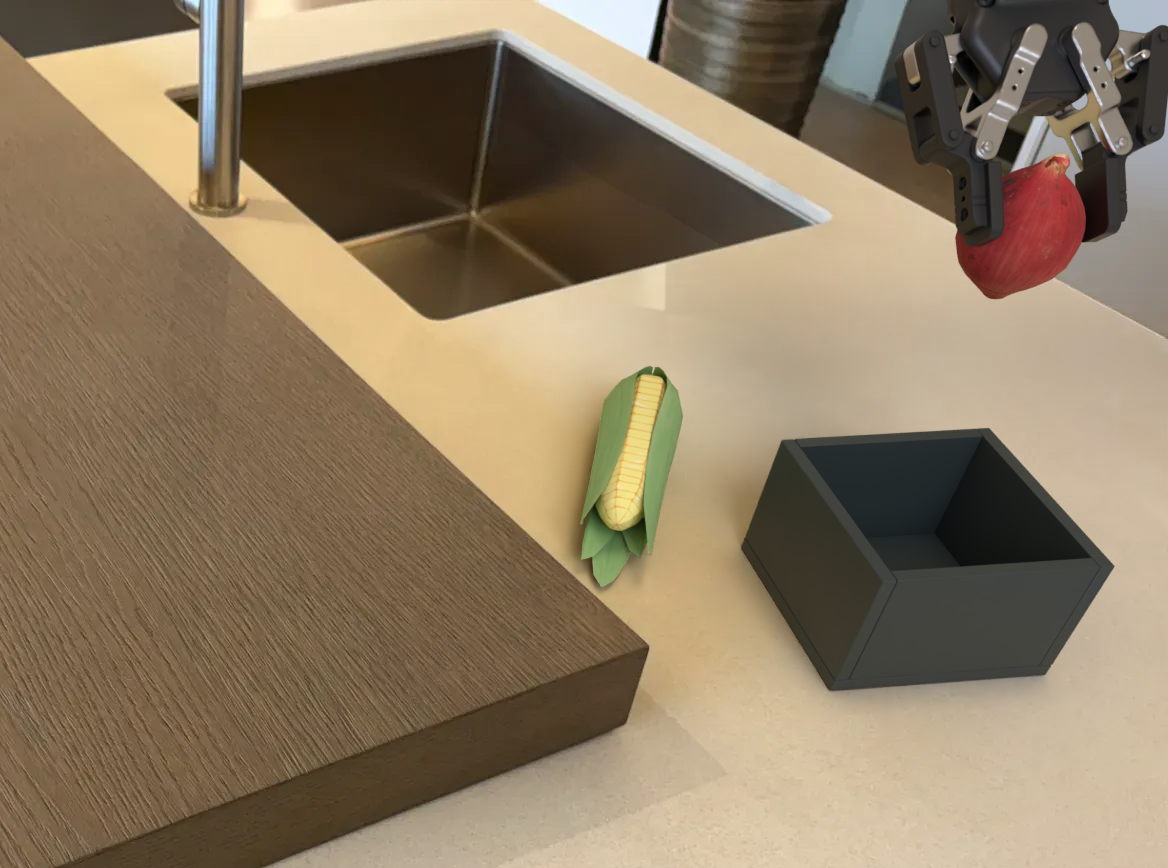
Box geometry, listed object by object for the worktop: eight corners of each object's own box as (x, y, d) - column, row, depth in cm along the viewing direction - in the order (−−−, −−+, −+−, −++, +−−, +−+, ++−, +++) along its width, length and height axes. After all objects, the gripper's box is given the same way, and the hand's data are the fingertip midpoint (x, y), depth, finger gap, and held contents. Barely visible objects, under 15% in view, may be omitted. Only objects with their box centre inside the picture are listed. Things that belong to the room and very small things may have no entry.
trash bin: (935, 534, 84) (989, 427, 78) (1045, 675, 75) (1115, 566, 70) (740, 547, 83) (781, 439, 77) (829, 691, 74) (883, 581, 69)
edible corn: (679, 421, 92) (697, 362, 89) (644, 603, 79) (665, 541, 76) (602, 406, 93) (618, 347, 90) (556, 583, 80) (572, 521, 77)
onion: (939, 315, 73) (1004, 170, 67) (927, 265, 77) (988, 123, 71) (1054, 331, 72) (1130, 184, 67) (1037, 279, 76) (1107, 136, 70)
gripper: (939, -131, 66) (958, 220, 66) (1215, -135, 67) (1232, 209, 67) (852, -47, 73) (869, 268, 74) (1102, -52, 74) (1117, 258, 75)
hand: (1042, 238), depth 70 cm, fingers closed on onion, 5 cm apart
